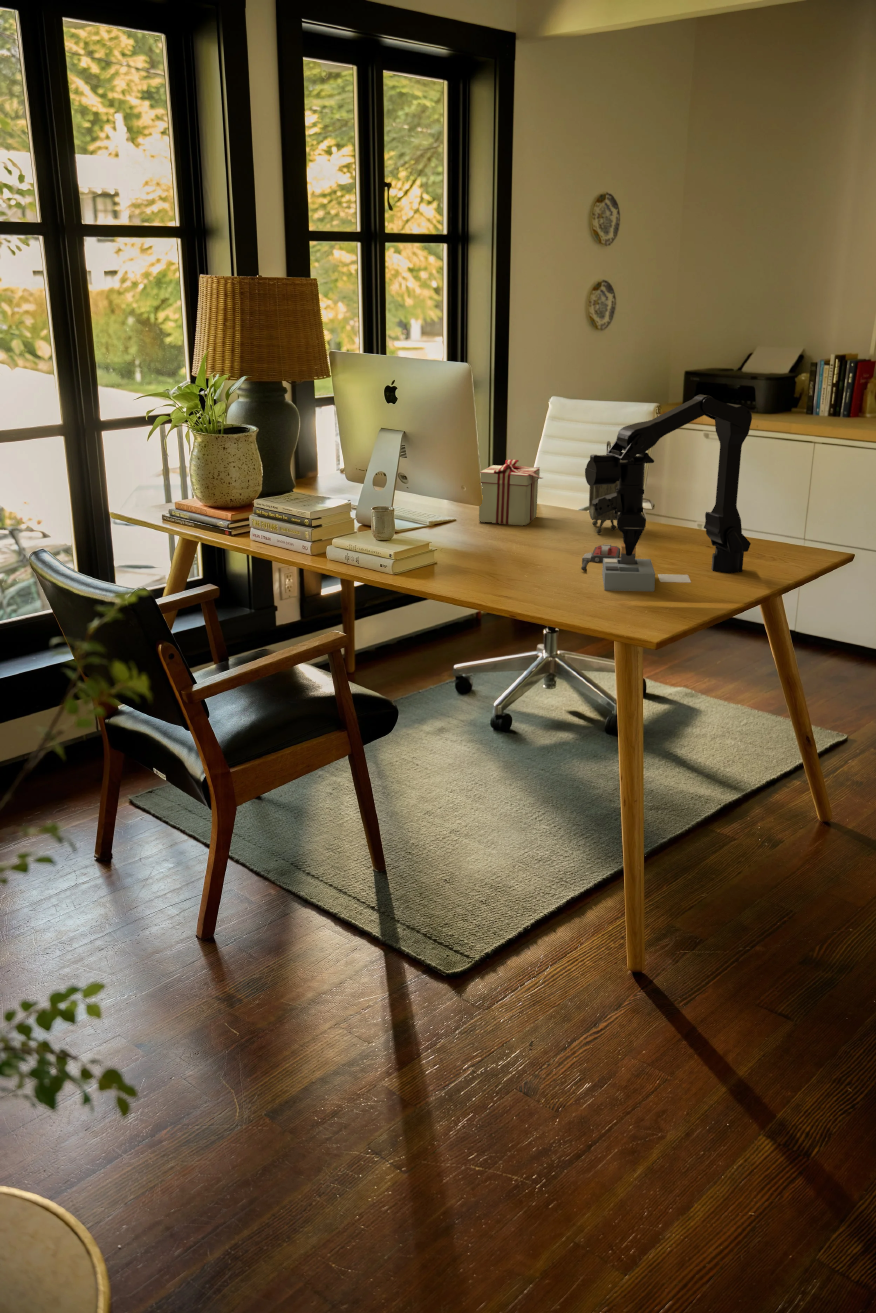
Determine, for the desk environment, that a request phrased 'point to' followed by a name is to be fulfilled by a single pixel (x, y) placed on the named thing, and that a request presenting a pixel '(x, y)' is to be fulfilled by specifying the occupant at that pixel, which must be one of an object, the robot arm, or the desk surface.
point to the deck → (673, 578)
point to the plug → (625, 558)
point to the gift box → (509, 494)
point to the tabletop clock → (597, 493)
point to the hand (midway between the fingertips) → (627, 551)
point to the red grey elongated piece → (600, 554)
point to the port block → (628, 575)
